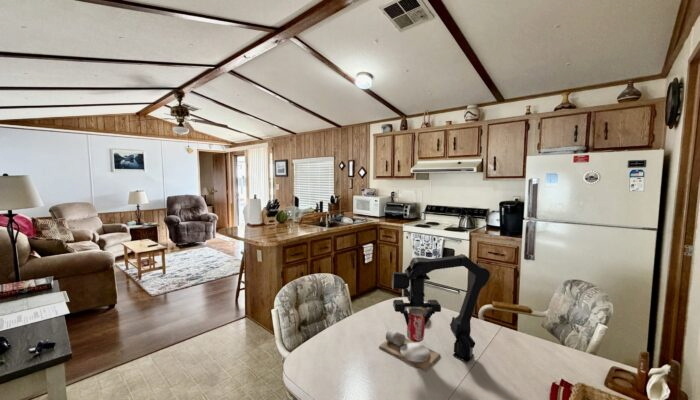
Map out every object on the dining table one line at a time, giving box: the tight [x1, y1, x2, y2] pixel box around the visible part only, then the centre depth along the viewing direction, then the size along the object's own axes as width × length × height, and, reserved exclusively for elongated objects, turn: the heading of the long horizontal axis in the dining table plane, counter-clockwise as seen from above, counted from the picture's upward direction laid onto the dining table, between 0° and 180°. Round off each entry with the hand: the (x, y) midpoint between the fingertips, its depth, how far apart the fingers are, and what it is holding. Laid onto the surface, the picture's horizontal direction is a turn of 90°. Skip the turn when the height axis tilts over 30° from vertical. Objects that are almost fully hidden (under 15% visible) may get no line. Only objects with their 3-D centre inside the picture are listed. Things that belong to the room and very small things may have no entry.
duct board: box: [378, 328, 441, 372], centre depth 126 cm, size 22×13×6 cm, turn 47°
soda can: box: [406, 308, 426, 343], centre depth 123 cm, size 7×7×12 cm
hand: (415, 325), depth 123 cm, fingers closed on soda can, 7 cm apart
